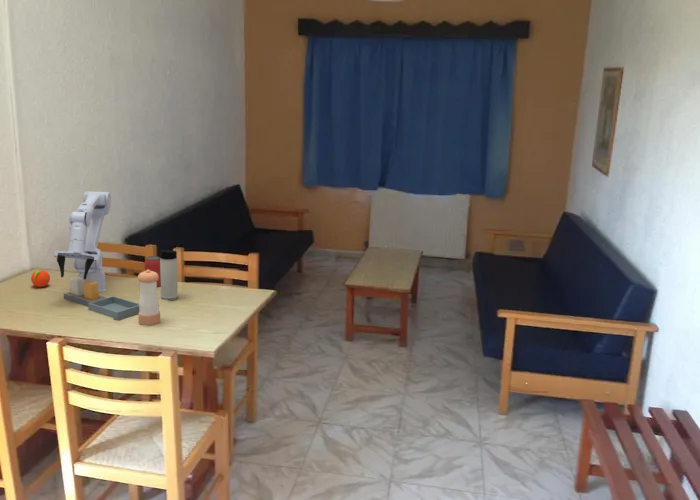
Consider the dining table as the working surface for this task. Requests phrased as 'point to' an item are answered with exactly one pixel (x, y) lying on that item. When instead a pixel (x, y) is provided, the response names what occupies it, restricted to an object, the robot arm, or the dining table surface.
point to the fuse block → (80, 299)
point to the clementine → (40, 278)
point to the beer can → (153, 266)
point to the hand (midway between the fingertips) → (73, 277)
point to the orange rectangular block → (91, 290)
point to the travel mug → (168, 274)
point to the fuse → (77, 286)
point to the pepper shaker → (148, 298)
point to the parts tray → (115, 307)
